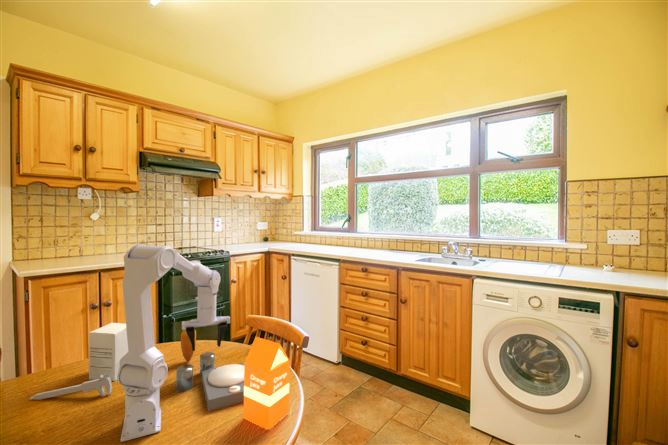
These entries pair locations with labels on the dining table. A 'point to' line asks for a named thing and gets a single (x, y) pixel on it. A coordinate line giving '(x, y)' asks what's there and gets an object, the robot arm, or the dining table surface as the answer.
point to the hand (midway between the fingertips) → (206, 347)
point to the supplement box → (107, 350)
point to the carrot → (186, 345)
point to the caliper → (80, 388)
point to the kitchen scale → (224, 386)
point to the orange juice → (266, 383)
